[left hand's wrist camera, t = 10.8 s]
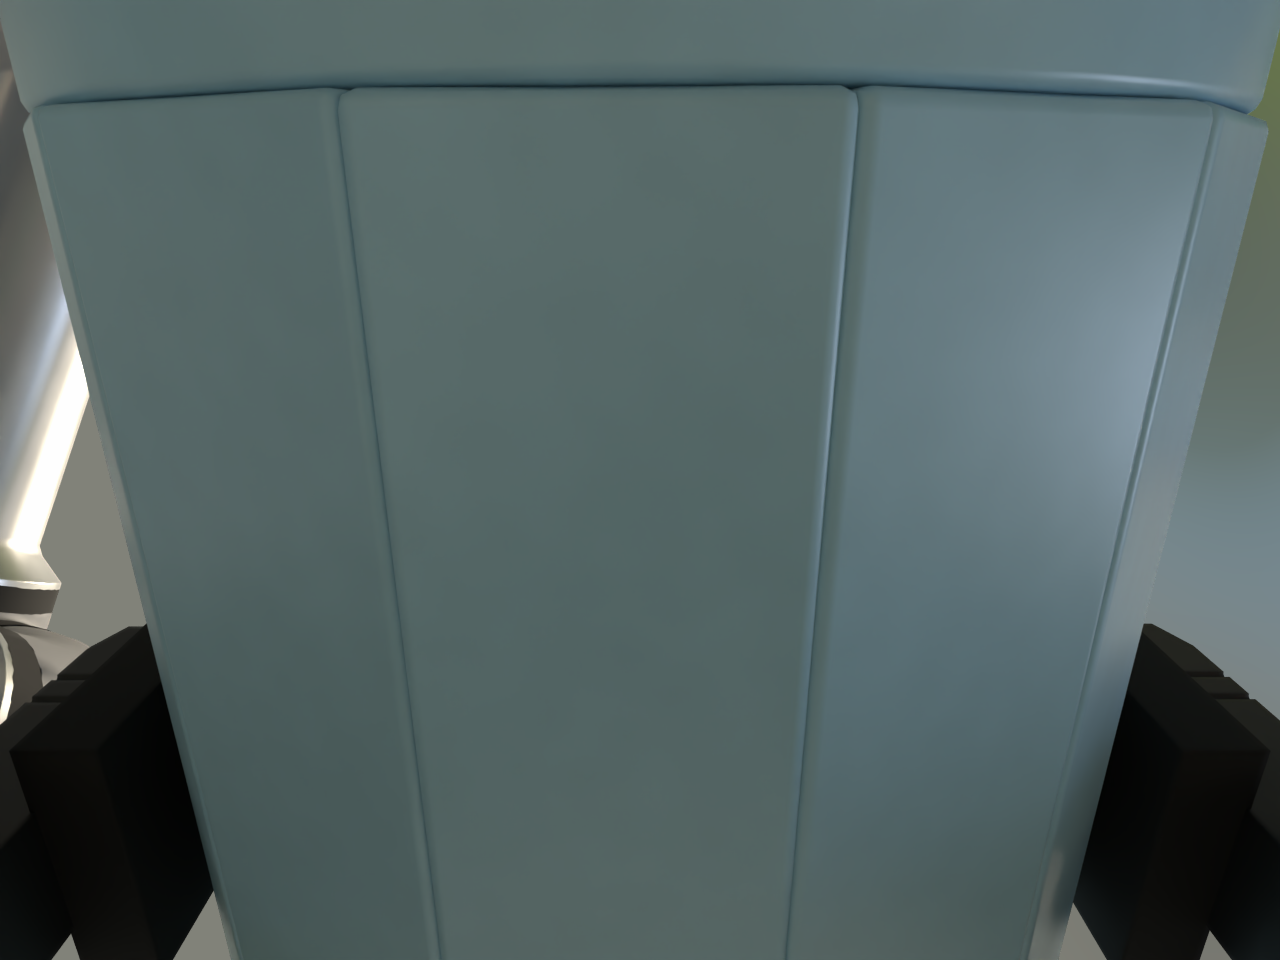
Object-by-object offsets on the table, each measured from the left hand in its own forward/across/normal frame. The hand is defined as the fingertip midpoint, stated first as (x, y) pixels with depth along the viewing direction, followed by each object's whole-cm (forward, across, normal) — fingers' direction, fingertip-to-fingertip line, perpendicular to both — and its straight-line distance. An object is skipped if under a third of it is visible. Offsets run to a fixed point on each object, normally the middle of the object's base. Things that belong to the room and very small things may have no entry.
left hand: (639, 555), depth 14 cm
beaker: (-4, 0, -7) cm, 8 cm away
